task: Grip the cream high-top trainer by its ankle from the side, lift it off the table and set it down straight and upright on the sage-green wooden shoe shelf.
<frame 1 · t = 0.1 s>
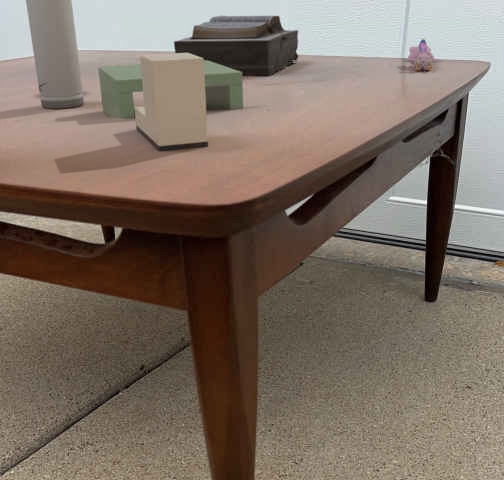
bible: (240, 69, 143), on the table
trainer: (171, 151, 74), on the table
shoe shelf: (169, 115, 95), on the table
rabbit figure: (420, 68, 137), on the table
travel mug: (62, 107, 104), on the table
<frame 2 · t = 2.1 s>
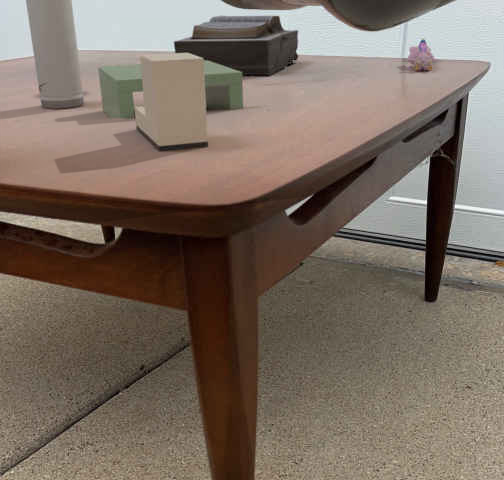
nothing on the table moved.
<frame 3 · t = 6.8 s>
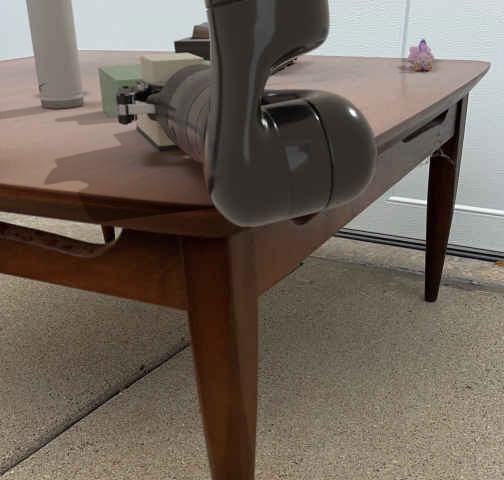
hand: (167, 89, 71), 6 cm above the table, tool horizontal, fingers closed on trainer, 5 cm apart
trainer: (171, 151, 74), on the table, touching gripper
everything else where it was.
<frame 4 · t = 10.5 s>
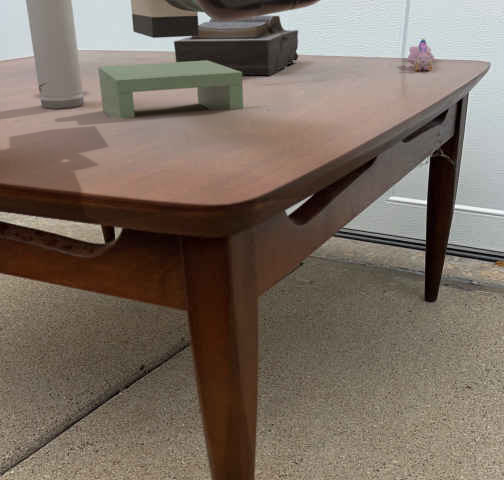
trainer: (164, 33, 79), point 11 cm above the table, touching gripper
everything else where it was.
when the fingers open (13 cm above the table, at t = 14.0 s): trainer stays where it is, resting on shoe shelf.
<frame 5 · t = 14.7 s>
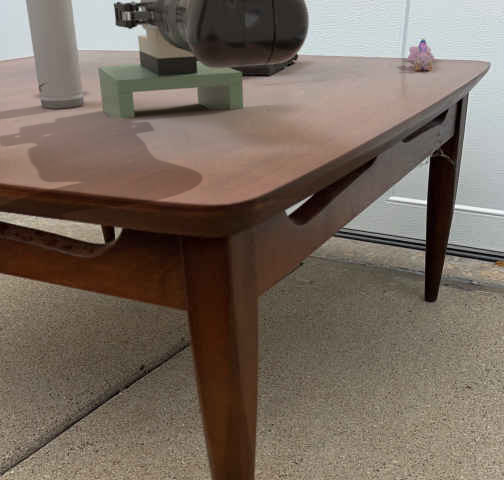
hand: (164, 11, 88), 13 cm above the table, tool horizontal, fingers open, 8 cm apart
trainer: (167, 69, 92), point 6 cm above the table, touching shoe shelf
everything else where it was.
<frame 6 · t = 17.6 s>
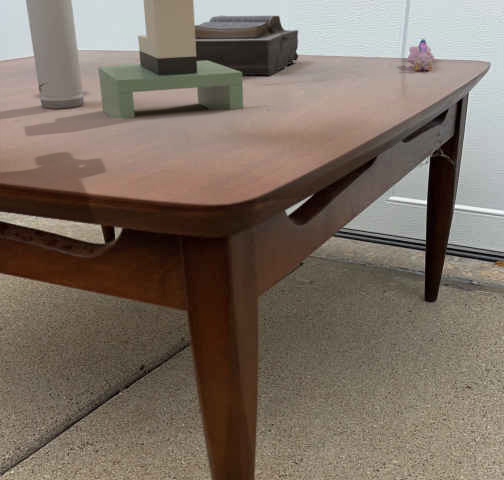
nothing on the table moved.
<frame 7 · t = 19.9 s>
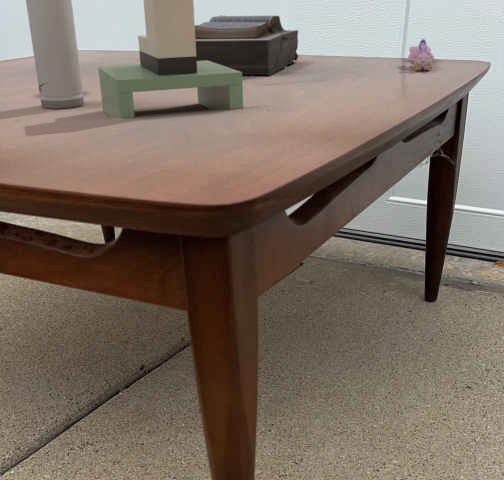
nothing on the table moved.
at the end: trainer inside the target area on the shoe shelf (0.1 cm from its centre), point 6.0 cm above the shoe shelf's base; trainer tilted 0°; the gripper is holding nothing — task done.
